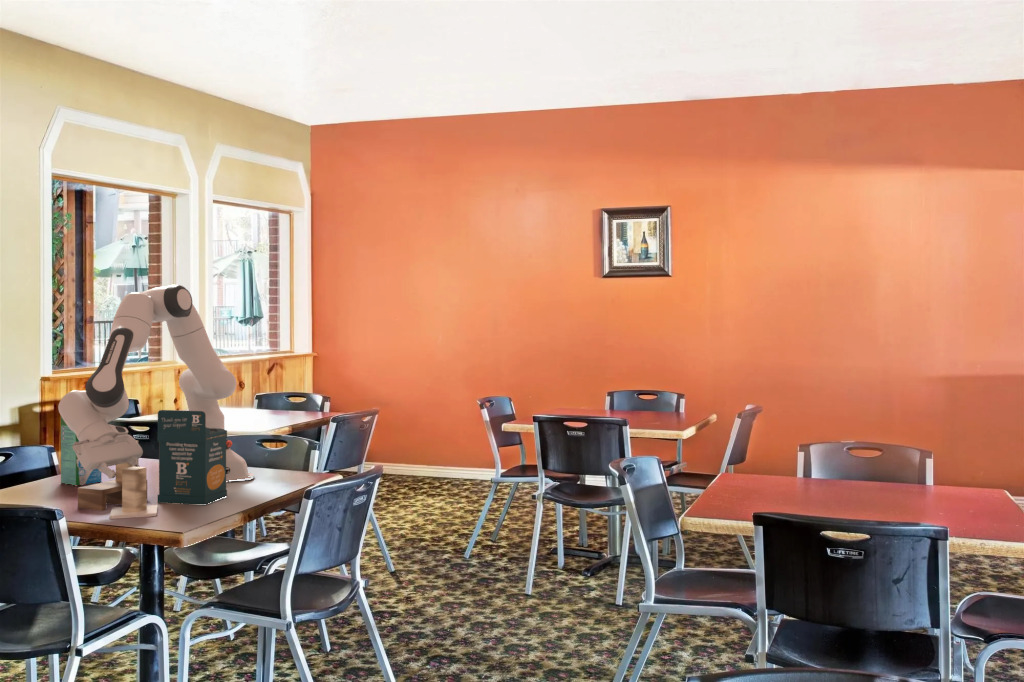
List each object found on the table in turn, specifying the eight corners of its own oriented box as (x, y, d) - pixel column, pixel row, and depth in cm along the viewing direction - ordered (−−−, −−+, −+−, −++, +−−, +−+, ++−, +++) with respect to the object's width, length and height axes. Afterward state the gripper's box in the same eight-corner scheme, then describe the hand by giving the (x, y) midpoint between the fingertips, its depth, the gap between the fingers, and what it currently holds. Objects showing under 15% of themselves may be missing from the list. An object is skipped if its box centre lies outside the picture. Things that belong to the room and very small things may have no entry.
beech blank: (126, 478, 272) (126, 440, 271) (138, 479, 270) (138, 440, 270) (115, 481, 267) (115, 441, 267) (127, 482, 266) (127, 442, 266)
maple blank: (133, 508, 254) (133, 466, 253) (146, 509, 252) (146, 467, 252) (122, 511, 249) (122, 468, 249) (135, 512, 248) (134, 469, 248)
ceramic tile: (157, 507, 258) (157, 504, 258) (156, 516, 247) (156, 513, 247) (112, 510, 254) (112, 507, 254) (109, 519, 243) (109, 516, 243)
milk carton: (76, 486, 291) (76, 410, 291) (60, 483, 296) (60, 409, 296) (101, 482, 299) (101, 408, 298) (85, 479, 304) (85, 407, 303)
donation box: (157, 502, 266) (157, 409, 265) (188, 492, 281) (188, 405, 281) (205, 505, 262) (205, 411, 262) (234, 495, 278) (234, 406, 277)
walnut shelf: (124, 497, 274) (123, 477, 274) (147, 499, 271) (147, 479, 271) (77, 508, 257) (77, 487, 257) (102, 510, 254) (102, 489, 254)
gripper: (75, 435, 244) (104, 472, 241) (130, 426, 264) (157, 461, 261) (63, 450, 246) (91, 488, 243) (118, 441, 265) (145, 475, 262)
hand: (126, 474), depth 252 cm, fingers open, 8 cm apart
